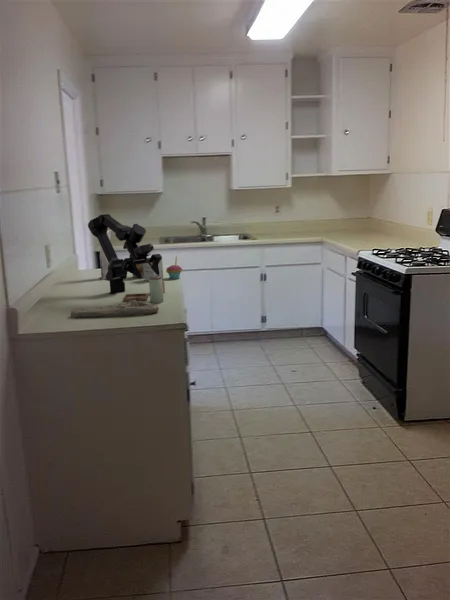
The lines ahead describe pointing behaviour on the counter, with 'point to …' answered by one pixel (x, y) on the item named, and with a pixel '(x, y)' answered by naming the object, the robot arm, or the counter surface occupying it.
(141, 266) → the coffee box
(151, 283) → the spice jar
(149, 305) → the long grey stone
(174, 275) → the cupcake
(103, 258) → the skyscraper
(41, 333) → the counter surface
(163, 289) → the terracotta cup
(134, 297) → the walnut tray
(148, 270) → the supplement box
